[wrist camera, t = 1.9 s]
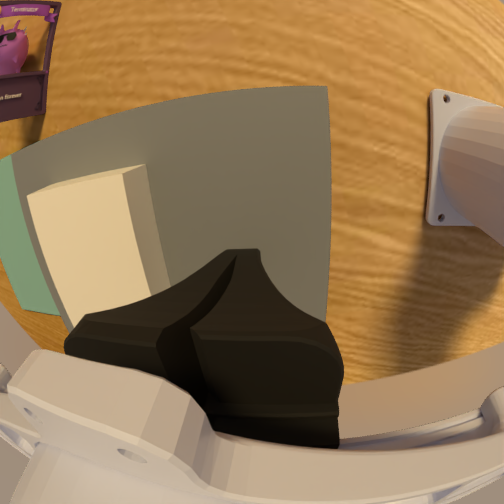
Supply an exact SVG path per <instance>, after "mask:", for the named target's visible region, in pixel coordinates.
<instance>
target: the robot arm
mask: <svg viewBox="0 0 504 504" xmlns="http://www.w3.org/2000/svg"><path fill="white" fill-rule="evenodd" d="M444 95H445V96H446V98H447V102H446V103H445V102H444V100H443V96H444ZM430 120H431V149H430V173H429V187H428V198H427V208H426V221H427V222H428V223H429V224H430V225H433V226H477V227H478V228H480V229H481V230H482V231H484V232H485V233H486V234H488V235H489V236H490V237H491V238H493V239H494V240H495V241H497V242H498V243H499V244H500V245H502V246H503V247H504V107H502V106H499V105H496V104H493V103H490V102H487V101H483V100H480V99H477V98H473V97H470V96H466V95H462V94H458V93H454V92H450V91H446V90H442V89H433V90H431V92H430ZM440 214H442V217H441V219H440V220H438V216H439V215H440ZM64 351H65V354H62V353H58V352H54V351H51V350H33V351H32V353H31V354H30V355H29V356H28V358H27V359H26V360H25V362H24V363H23V364H22V365H21V367H20V368H19V369H18V371H17V372H16V373H15V375H14V376H13V377H12V376H11V375H10V373H9V372H8V370H7V369H6V368H5V367H4V366H3V365H2V364H1V363H0V437H1V438H3V439H4V440H5V441H6V442H8V443H9V444H10V445H12V446H13V447H14V448H16V449H17V450H18V451H20V452H21V453H22V454H24V455H25V456H27V457H28V458H29V459H30V460H29V462H28V464H27V466H26V468H25V470H24V472H23V474H22V476H21V478H20V480H19V483H18V485H17V487H16V489H15V491H14V493H13V496H12V498H11V500H10V503H9V504H448V503H451V502H453V501H455V500H457V499H460V498H462V497H464V496H466V495H468V494H471V493H473V492H474V491H477V490H479V489H481V488H483V487H485V486H487V485H488V484H490V483H492V482H494V481H496V480H498V479H499V478H501V477H503V476H504V386H503V387H500V388H498V389H496V390H494V391H493V392H492V393H491V394H490V395H489V396H488V397H487V398H486V399H485V401H484V402H483V404H482V405H481V407H480V408H478V409H475V410H473V411H470V412H467V413H464V414H461V415H458V416H455V417H451V418H448V419H444V420H441V421H437V422H434V423H430V424H426V425H422V426H418V427H413V428H409V429H404V430H399V431H394V432H389V433H383V434H376V435H370V436H363V437H355V438H346V439H339V428H338V418H337V417H338V416H339V406H338V398H339V394H340V390H341V386H342V381H343V377H344V365H343V360H342V357H341V354H340V351H339V348H338V346H337V343H336V341H335V339H334V337H333V335H332V333H331V331H330V329H329V327H328V325H327V324H326V323H325V322H324V321H322V320H319V319H317V318H315V317H313V316H311V315H309V314H307V313H305V312H303V311H302V310H300V309H299V308H297V307H296V306H294V305H293V304H292V303H291V302H290V301H288V300H287V299H286V298H285V297H284V296H283V295H282V294H281V293H280V292H279V290H278V289H277V288H276V287H275V285H274V284H273V283H272V281H271V280H270V278H269V276H268V275H267V273H266V271H265V269H264V267H263V265H262V262H261V252H260V250H259V249H258V248H252V249H226V250H225V251H223V252H222V253H220V254H219V255H218V256H216V257H215V258H214V259H212V260H211V261H210V262H208V263H207V264H206V265H204V266H203V267H202V268H200V269H199V270H197V271H196V272H194V273H193V274H191V275H190V276H189V277H187V278H186V279H184V280H182V281H181V282H179V283H177V284H175V285H174V286H172V287H170V288H168V289H166V290H164V291H162V292H159V293H157V294H155V295H152V296H150V297H147V298H145V299H143V300H140V301H137V302H134V303H131V304H128V305H124V306H121V307H117V308H113V309H109V310H104V311H99V312H94V313H89V314H85V315H84V316H83V317H82V319H81V320H80V321H79V322H78V324H77V325H76V326H75V328H74V329H73V330H72V331H71V333H70V334H69V335H68V337H67V338H66V339H65V341H64Z"/></svg>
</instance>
